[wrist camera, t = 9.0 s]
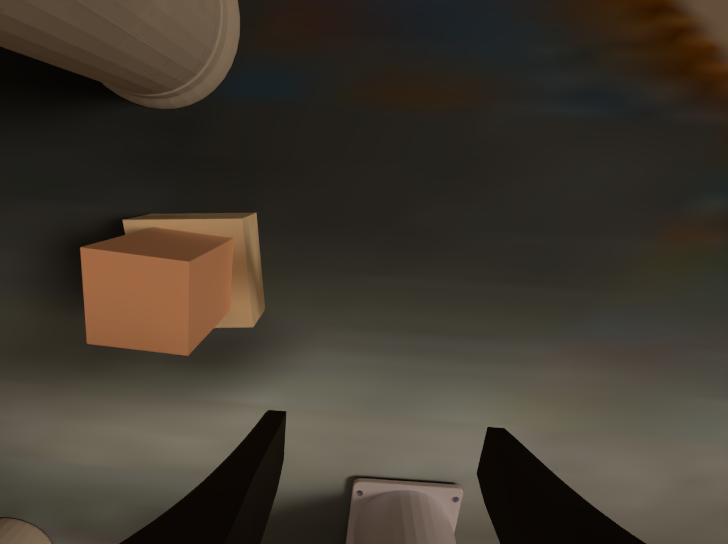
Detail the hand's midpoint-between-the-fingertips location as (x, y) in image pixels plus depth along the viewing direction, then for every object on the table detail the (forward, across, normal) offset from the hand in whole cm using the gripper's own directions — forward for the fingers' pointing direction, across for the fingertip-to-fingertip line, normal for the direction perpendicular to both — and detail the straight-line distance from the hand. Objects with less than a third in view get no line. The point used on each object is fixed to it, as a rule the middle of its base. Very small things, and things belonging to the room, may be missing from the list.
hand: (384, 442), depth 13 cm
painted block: (+8, +10, -3) cm, 13 cm away
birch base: (+11, +10, -3) cm, 15 cm away
